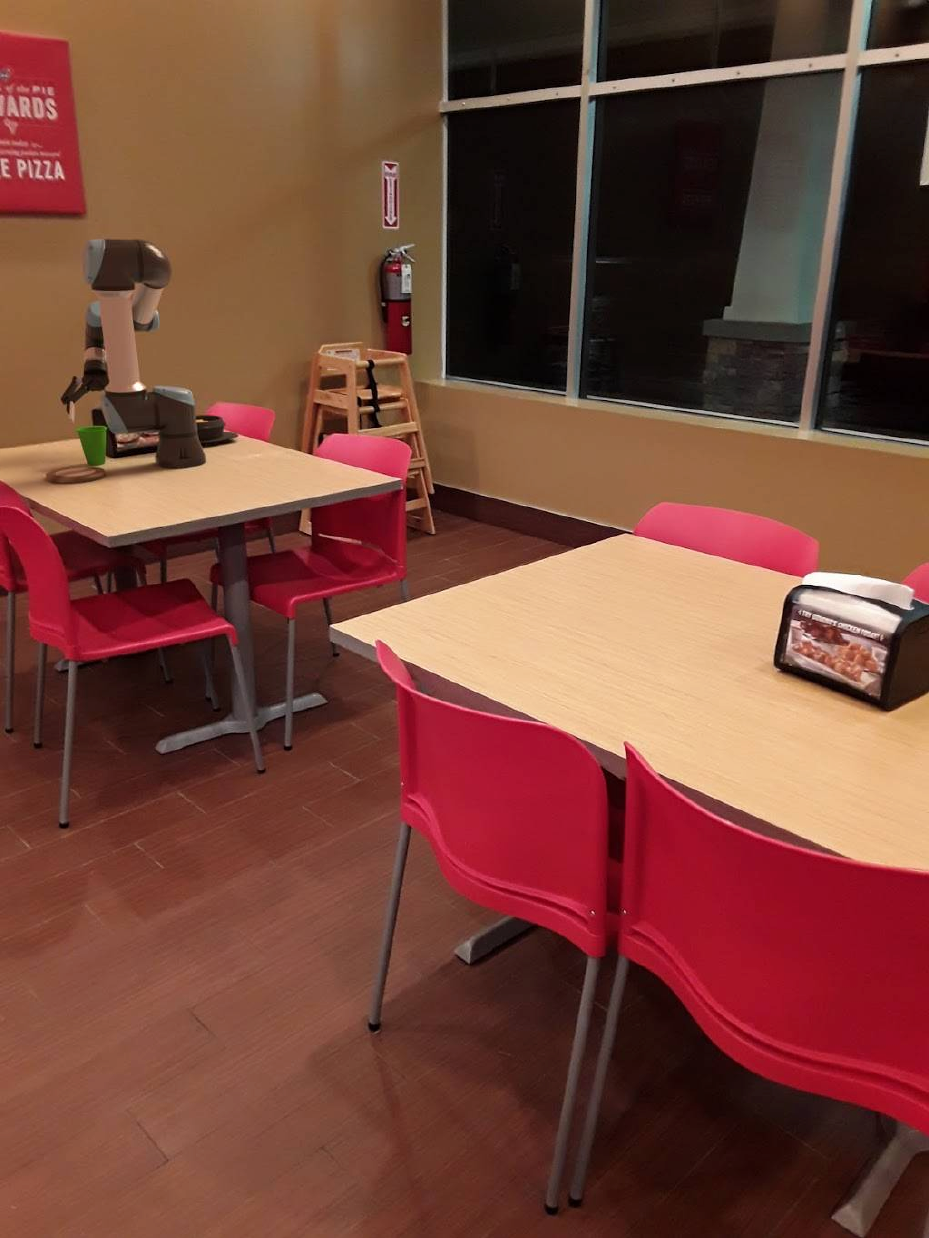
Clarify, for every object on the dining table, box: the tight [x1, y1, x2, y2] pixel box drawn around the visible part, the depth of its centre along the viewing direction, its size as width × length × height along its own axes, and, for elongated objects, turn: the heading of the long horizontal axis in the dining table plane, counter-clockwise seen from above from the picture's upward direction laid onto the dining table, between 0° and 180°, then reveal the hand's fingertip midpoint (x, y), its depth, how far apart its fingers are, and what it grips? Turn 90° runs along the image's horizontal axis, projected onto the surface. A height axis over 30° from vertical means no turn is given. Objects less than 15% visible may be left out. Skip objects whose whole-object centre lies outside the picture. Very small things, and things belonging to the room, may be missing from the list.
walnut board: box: [45, 465, 106, 485], centre depth 274 cm, size 16×16×2 cm
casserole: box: [196, 414, 239, 447], centre depth 321 cm, size 25×19×8 cm
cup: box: [75, 425, 108, 467], centre depth 289 cm, size 9×9×11 cm
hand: (94, 420), depth 294 cm, fingers open, 13 cm apart
